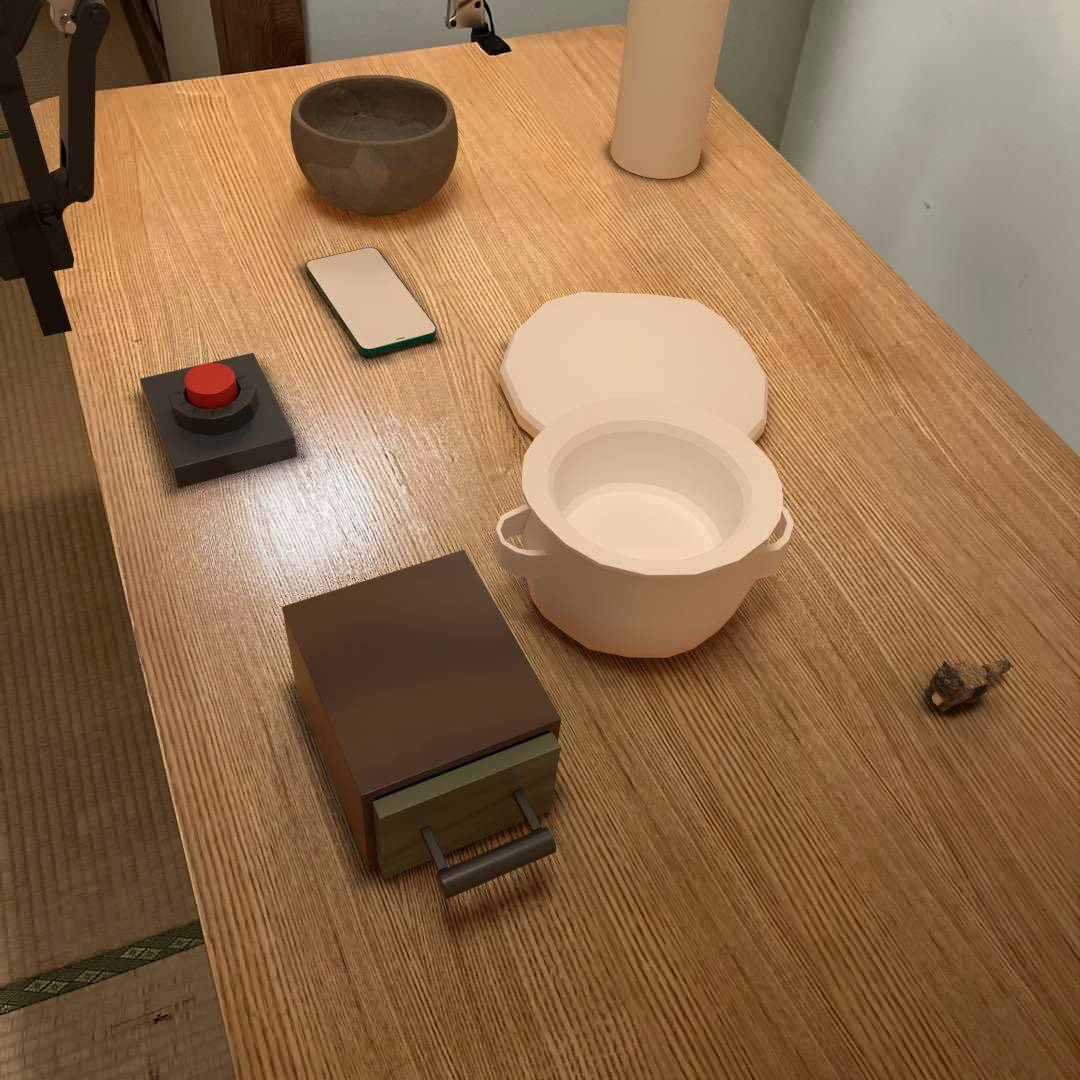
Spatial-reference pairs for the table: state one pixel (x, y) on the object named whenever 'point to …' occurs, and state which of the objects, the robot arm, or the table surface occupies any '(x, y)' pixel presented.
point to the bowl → (374, 142)
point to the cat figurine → (962, 682)
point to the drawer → (471, 815)
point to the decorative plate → (631, 359)
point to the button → (211, 386)
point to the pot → (643, 525)
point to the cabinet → (410, 681)
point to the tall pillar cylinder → (666, 85)
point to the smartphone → (370, 301)
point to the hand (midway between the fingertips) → (53, 319)
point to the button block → (218, 424)
